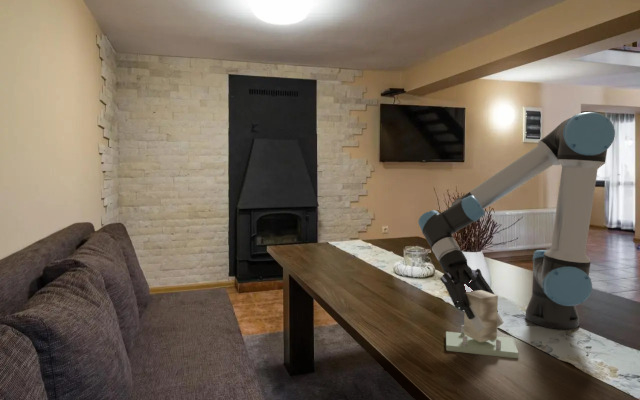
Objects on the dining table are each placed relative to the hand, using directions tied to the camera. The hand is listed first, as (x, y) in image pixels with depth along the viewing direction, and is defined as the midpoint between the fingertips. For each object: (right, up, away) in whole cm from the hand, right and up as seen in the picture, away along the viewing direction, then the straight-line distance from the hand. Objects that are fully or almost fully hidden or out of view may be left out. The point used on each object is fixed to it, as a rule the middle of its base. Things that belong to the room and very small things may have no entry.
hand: (490, 327), depth 112 cm
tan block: (-1, -4, +4) cm, 5 cm away
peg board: (-1, -7, +4) cm, 8 cm away
